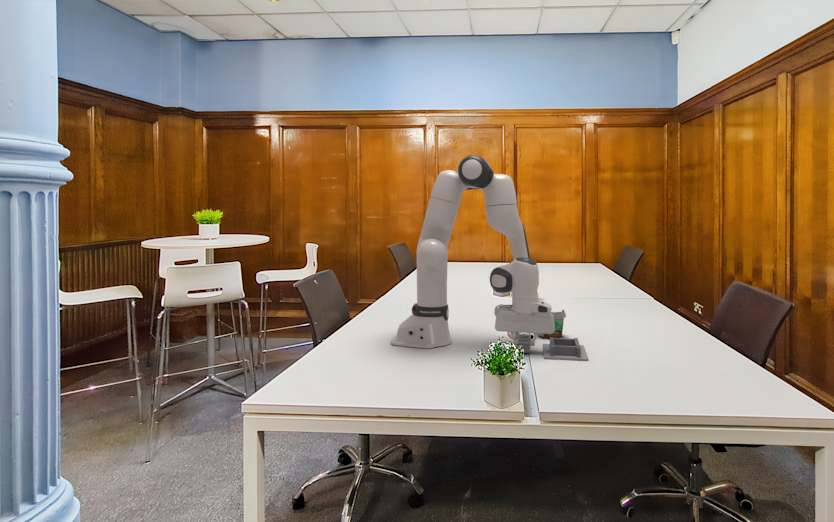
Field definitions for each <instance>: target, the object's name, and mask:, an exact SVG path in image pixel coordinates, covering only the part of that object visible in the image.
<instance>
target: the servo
mask: <svg viewBox="0 0 834 522" xmlns="http://www.w3.org/2000/svg"><path fill="white" fill-rule="evenodd" d="M517 339H518V345H522V346H523V349H524V353H525V354H530V353H531V346H530V340H531V334H529V333H521V334H520V333H519V334H518V338H517ZM518 345H517V346H518ZM524 353H523V354H524Z"/></svg>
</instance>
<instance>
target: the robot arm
mask: <svg viewBox="0 0 834 522" xmlns="http://www.w3.org/2000/svg"><path fill="white" fill-rule="evenodd" d="M469 190H470V191H471V190H481V191H482V192H483V193H482V194H483V195H484V196H483V197H484V203H485V205H484V206H485V216H486V217H485V218H486V220H487V224H488V225H489V226H490V227H491V228H492V229H493V230H494V231H496V232H498V233H500V234H502V235H503V236H505V238H507V239H508V241H509V243H510V248H511V254H512V259H513V260H512V261H511V262H509V263H506V264H504V265H500V266H497V267H494V268H493V269H492V271H490V274H489V285H490V287H491V288H492V289H493V291H494V292H496V293H499V294H507V293H510V294H511V296H512V297H511V304H502V303H501V304H498V305H496V306H495V307H494V313H493V314H494V316H495V323H494V329H495V330H496V332H507V333H510V336H511V337H512V339H513V345H514V346H515V345H516V346H518V338H517V337H516V336H515V335H516V333H522V334H533V336H534V337H533V338H532V339H530V347H531V346H534V347H535V345H536V344H535V341H536V340H537V338H539V337H538V333H541V334H553V333H554V332H555V323H554V317H553V314H552V312H553V311H552V310H553V309H552V305H551V304H550V303H548V302H545V301H541V300H539V293H538V288H539V286H540V285H539V284H540V281H539V280H540V275H539V273H540V272H539V266H538V265H539V264H538V263H537V261H535V260H534V259H532V258H531V255H530V250H529V243H528V238H527V235H526V233H527V232H526V229H525V226H524V224H523V222H522V221H521V219H520V215H519V210H518V200H517V193H516V188H515V184H514V180H513V179H512V177H511V176H510V175H508V174H504V173H494V171H493V169H492V167H491V165H490V163H489V162H488V161H487V160H486V159H485V158H483V157H482V156H480V155H477V154H471V155H467V156H465V157H464V158H463V159H462V160H461V161H460V162H459V164H458V166H457V170H451V169H445V170H443V171H440V172H439V174H438V175H437V177H436V179H435V181H434V184H433V187H432V189H431V193H430V196H429V200H428V204H427V207H426V213H425V215H424V219H423V224H422V227H421V231H420V235H419V239H418V241H417V242H418V243H417V246H416V302H417V303H414V304H413V305H412V307H411V315H410V316H408V317H407V318H406V319H405V320H403V321H402V322H401V323H400V324H399V325H398V327H397V332H396V335H394V336H393V337H392V338H391V340H390V345H392V346H399V347H406V348H407V347H409V348H416V349H417V348H418V349H429V350H430V349H434V348H437V347H444V346H448V345H450V344H452V343H453V341H452V338H451V337H452V336H451V333H450V329H449V328H450V327H449V318H450V317H449V316H450V313H449V304H448V258H449V257H448V255H449V252H448V245H449V243H450V239H451V235H452V234H453V230H454V227H455V223H456V221H457V215H458V211H459V209H460V204H461V201H462V197H463V194H464V192H465V191H469Z"/></svg>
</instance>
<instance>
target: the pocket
mask: <svg viewBox="0 0 834 522" xmlns="http://www.w3.org/2000/svg"><path fill="white" fill-rule="evenodd" d="M542 349H543V350H542V351H543V360H559V361H560V360H562V361H577V362H578V361H579V362H580V361H582V362H589V357H588V354H587V351H586V347H585V345H584V344H582V345H581V344H580V342H579V339H578V337H574V338H566V337H565V338H563V337H561V338H553V337H550V339H549V343H542Z"/></svg>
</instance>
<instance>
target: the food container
mask: <svg viewBox="0 0 834 522" xmlns="http://www.w3.org/2000/svg"><path fill="white" fill-rule="evenodd" d="M551 312H552V314H553V317H554V323H555V332H554V333H553V334H541V333H538V337H537V338H540V339H543V340H544V339H545V340H550V337H553V338H563V330H564V319H565V318H566V317H567V314H566V312H565V310H564V309H561V311H558V312H557V311H551Z"/></svg>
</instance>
